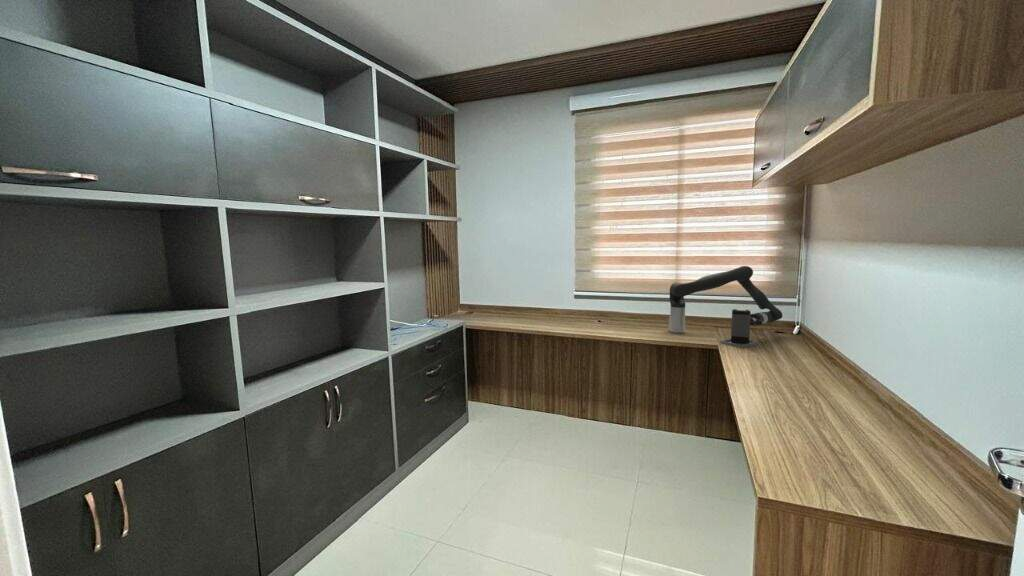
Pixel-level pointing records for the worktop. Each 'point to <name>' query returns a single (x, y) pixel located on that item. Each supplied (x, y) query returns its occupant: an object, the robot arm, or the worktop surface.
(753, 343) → the charging dock
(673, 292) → the robot arm
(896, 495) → the worktop surface
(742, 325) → the electronic device
